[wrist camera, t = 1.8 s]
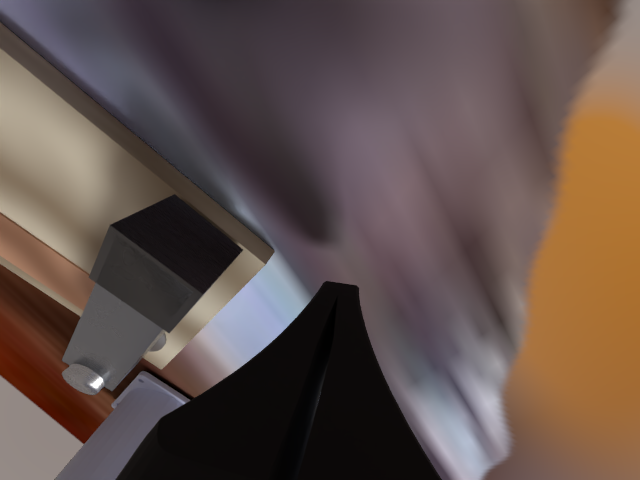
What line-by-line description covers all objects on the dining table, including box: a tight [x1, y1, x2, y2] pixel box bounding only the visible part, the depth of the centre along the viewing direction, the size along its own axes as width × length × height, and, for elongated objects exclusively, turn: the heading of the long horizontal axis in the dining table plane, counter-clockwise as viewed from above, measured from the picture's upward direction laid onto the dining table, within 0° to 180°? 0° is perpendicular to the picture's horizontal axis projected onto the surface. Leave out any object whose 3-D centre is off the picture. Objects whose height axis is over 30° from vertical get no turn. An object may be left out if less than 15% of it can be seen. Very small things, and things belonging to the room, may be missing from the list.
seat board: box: [0, 22, 275, 370], centre depth 14 cm, size 14×16×1 cm
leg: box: [62, 194, 243, 395], centre depth 13 cm, size 12×4×3 cm, turn 139°
